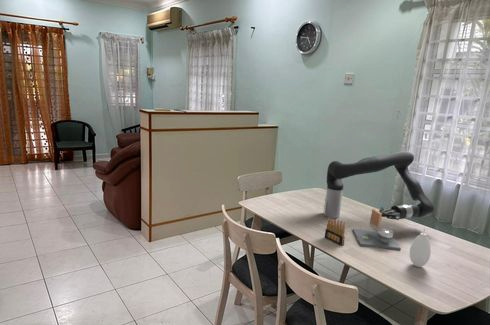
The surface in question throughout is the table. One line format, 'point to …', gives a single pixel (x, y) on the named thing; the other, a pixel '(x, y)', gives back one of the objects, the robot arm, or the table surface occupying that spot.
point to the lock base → (374, 240)
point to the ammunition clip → (335, 232)
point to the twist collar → (375, 225)
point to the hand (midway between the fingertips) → (376, 214)
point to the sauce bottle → (420, 250)
